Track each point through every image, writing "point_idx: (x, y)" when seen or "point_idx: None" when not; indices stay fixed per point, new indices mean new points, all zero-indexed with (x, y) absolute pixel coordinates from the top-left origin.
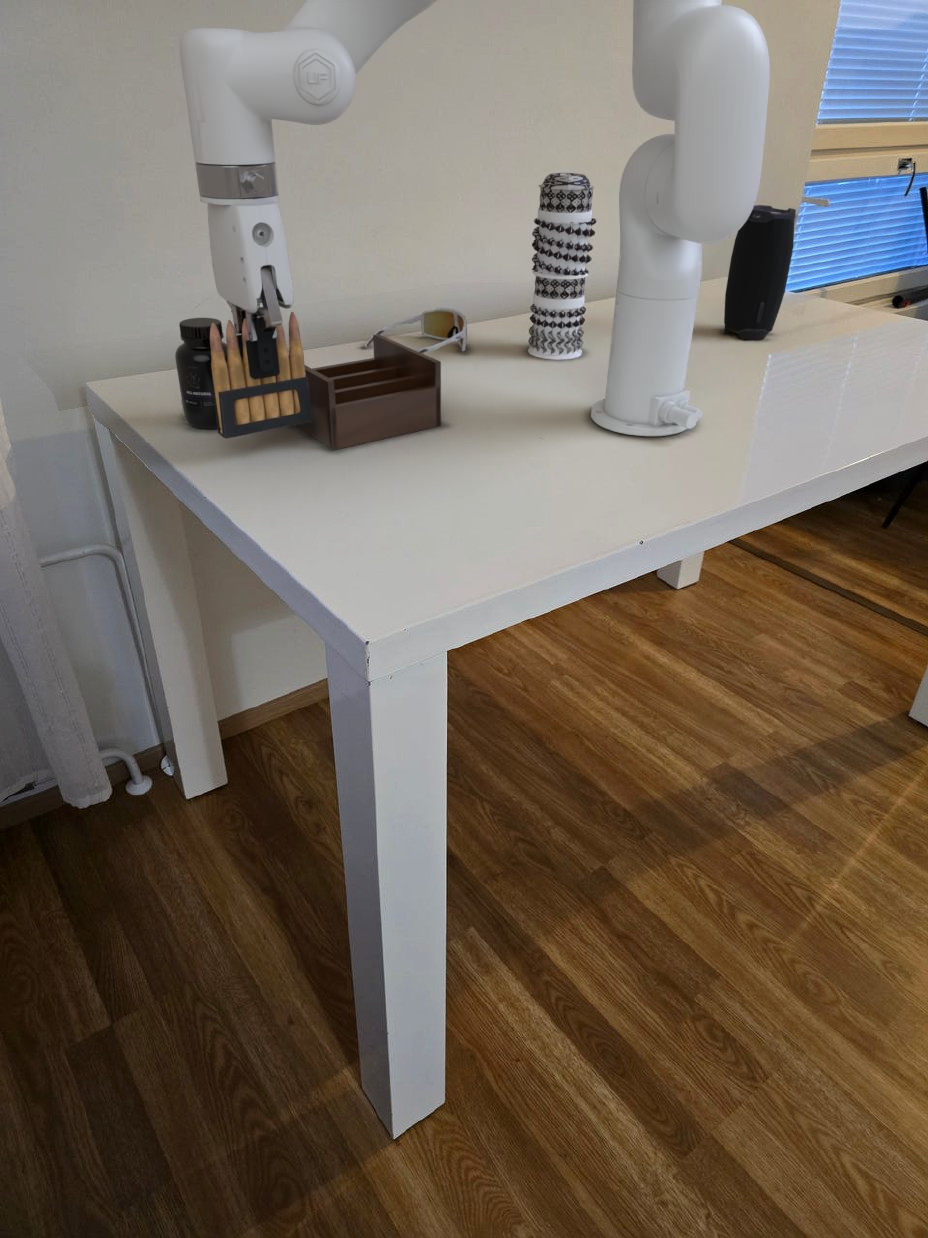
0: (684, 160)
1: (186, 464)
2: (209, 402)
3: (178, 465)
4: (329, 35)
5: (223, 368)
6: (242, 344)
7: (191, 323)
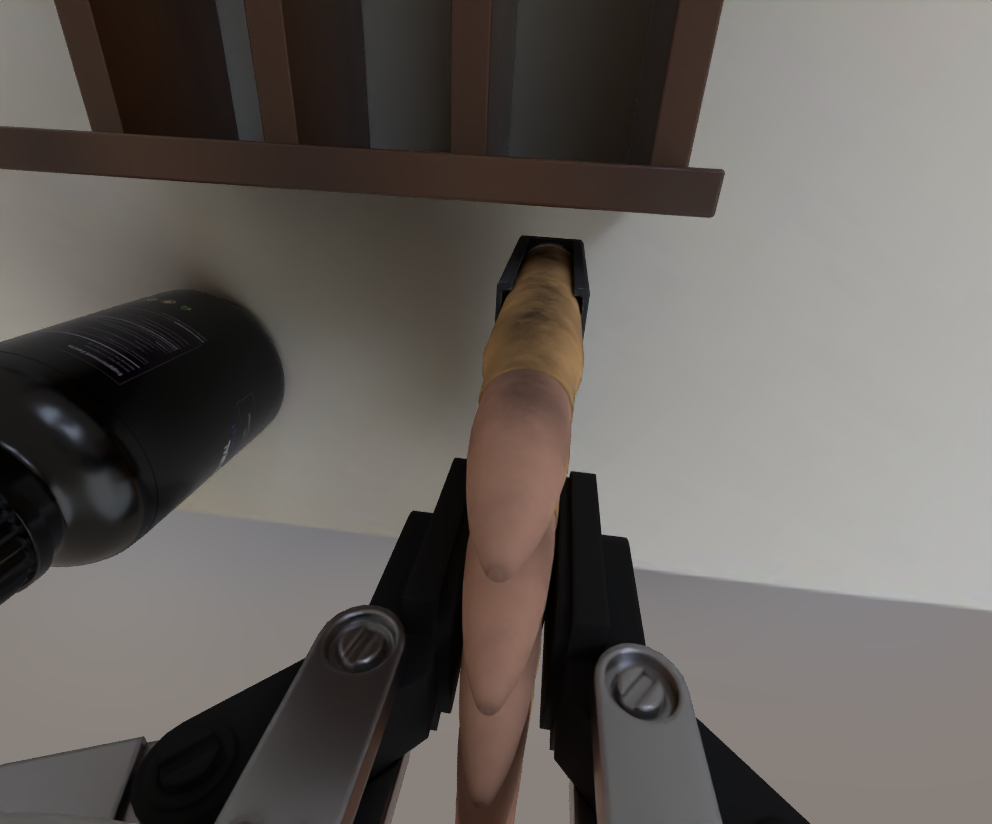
0: None
1: None
2: (243, 435)
3: None
4: None
5: (533, 697)
6: (458, 676)
7: None
